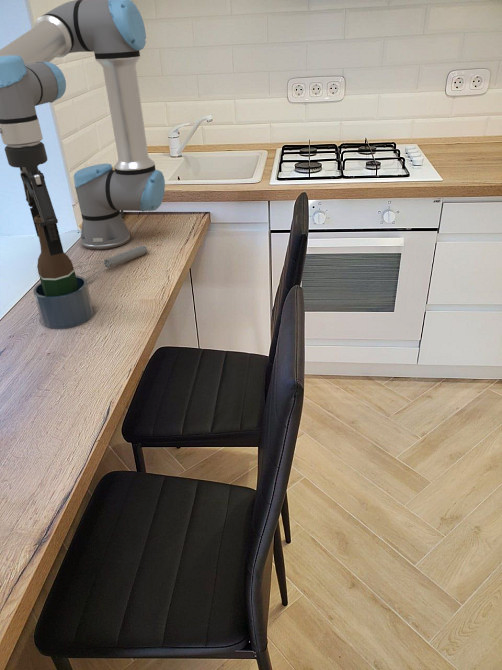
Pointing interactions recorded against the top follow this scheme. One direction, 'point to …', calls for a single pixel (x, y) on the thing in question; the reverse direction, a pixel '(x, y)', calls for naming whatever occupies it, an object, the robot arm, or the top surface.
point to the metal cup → (64, 306)
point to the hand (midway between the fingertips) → (50, 244)
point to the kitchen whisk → (118, 259)
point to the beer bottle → (54, 269)
